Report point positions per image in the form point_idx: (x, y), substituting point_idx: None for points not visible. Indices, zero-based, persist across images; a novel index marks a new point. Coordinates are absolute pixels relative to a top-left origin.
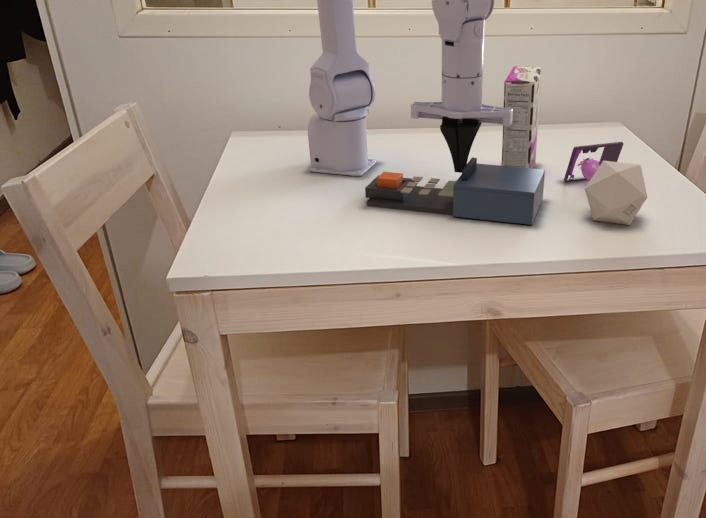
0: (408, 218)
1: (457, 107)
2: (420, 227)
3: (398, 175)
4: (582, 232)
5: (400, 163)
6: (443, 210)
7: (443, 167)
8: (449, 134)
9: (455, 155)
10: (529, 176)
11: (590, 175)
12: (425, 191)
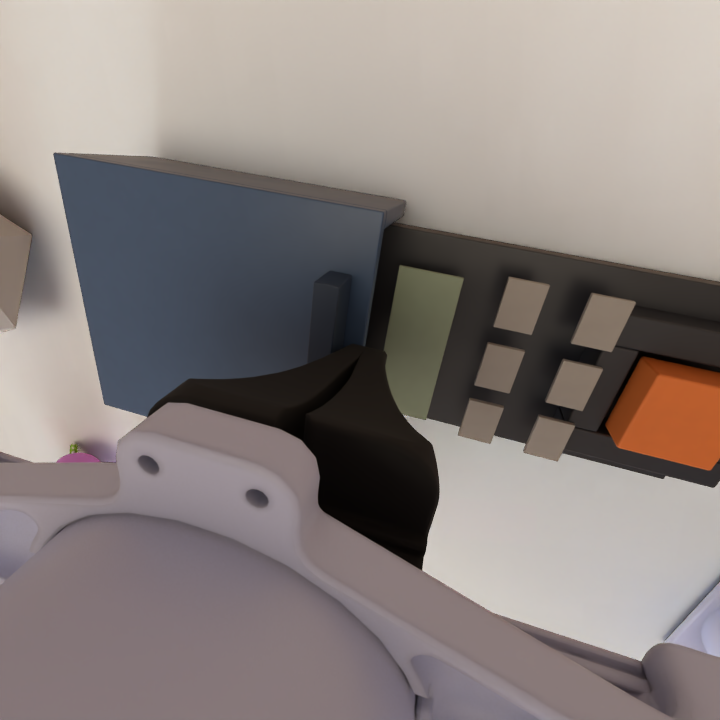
0: (585, 180)
1: (159, 575)
2: (537, 80)
3: (641, 426)
4: (26, 135)
5: (579, 629)
6: (442, 233)
7: (452, 588)
8: (367, 420)
9: (364, 373)
10: (124, 338)
11: (79, 460)
12: (517, 307)
